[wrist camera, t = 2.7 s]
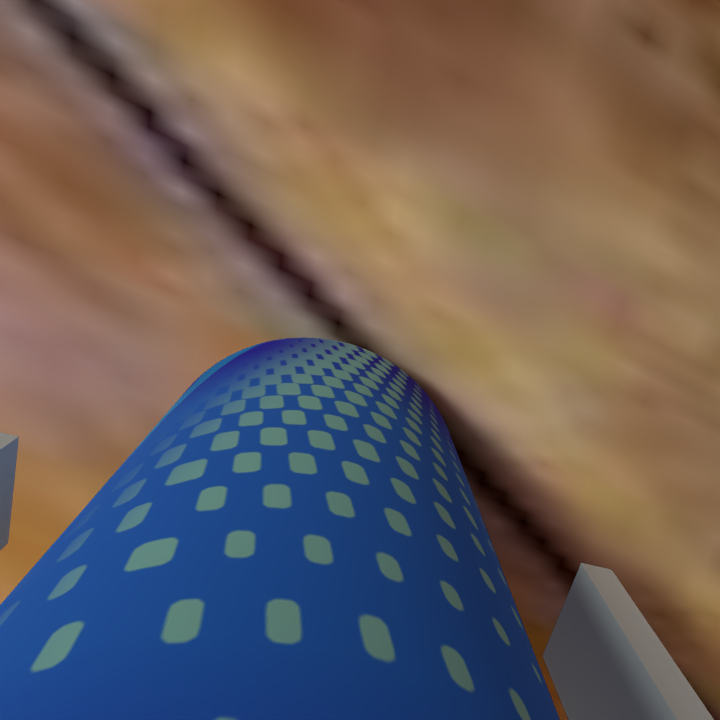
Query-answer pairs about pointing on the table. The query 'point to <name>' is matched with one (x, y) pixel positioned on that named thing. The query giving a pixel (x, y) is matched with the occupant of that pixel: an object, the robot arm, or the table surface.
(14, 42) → the table surface
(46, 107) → the table surface
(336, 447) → the beer can
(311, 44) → the table surface
